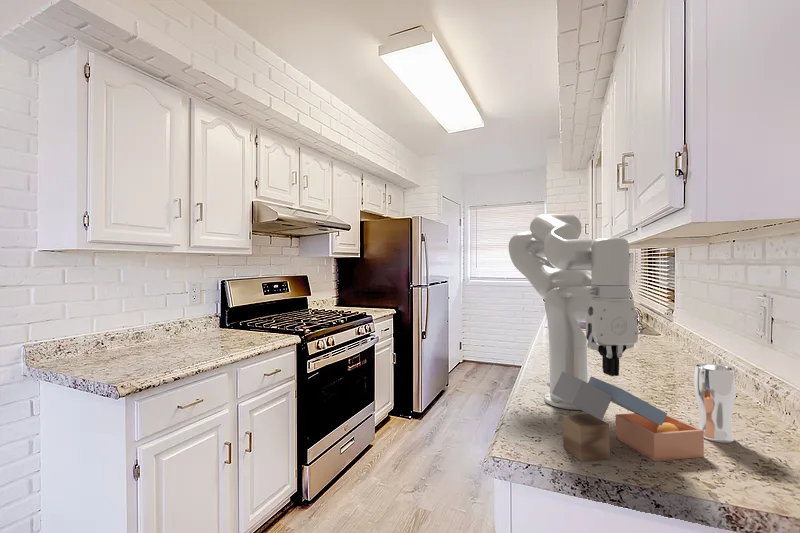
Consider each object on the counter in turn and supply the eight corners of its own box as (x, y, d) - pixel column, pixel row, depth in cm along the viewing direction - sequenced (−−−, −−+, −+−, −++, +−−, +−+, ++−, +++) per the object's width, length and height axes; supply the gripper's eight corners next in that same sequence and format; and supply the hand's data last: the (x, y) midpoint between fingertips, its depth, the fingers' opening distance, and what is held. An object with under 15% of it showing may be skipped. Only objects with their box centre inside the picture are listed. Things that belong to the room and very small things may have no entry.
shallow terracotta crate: (615, 437, 85) (615, 414, 85) (660, 434, 86) (659, 411, 86) (654, 461, 74) (654, 434, 74) (703, 456, 76) (703, 430, 76)
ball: (665, 441, 83) (649, 434, 82) (672, 423, 83) (656, 416, 83) (681, 450, 79) (665, 442, 78) (688, 431, 79) (672, 423, 79)
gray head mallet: (574, 406, 73) (590, 372, 73) (535, 383, 88) (548, 355, 88) (656, 449, 75) (671, 415, 76) (604, 420, 90) (617, 392, 91)
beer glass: (696, 428, 89) (694, 361, 90) (736, 435, 85) (734, 366, 85) (694, 438, 84) (692, 367, 84) (737, 447, 80) (735, 372, 80)
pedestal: (581, 461, 75) (580, 426, 75) (563, 447, 80) (562, 415, 81) (610, 458, 75) (609, 424, 76) (590, 445, 81) (589, 413, 81)
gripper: (590, 295, 84) (590, 381, 84) (652, 293, 86) (653, 377, 86) (569, 292, 91) (570, 371, 91) (628, 291, 93) (628, 368, 94)
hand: (610, 374), depth 89 cm, fingers closed
